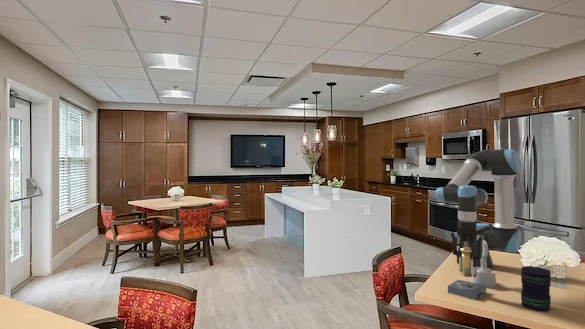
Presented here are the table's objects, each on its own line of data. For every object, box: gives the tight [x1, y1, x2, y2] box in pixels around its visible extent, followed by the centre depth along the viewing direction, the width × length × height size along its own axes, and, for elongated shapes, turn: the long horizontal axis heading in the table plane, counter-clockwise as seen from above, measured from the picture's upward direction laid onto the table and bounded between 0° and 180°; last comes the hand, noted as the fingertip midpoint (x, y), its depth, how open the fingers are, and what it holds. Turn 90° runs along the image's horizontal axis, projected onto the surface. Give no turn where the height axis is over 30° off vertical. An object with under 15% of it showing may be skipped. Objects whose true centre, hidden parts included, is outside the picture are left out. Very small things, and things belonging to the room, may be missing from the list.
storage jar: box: [520, 265, 552, 313], centre depth 143 cm, size 10×10×15 cm
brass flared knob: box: [460, 246, 473, 278], centre depth 158 cm, size 6×6×12 cm
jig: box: [447, 279, 487, 301], centre depth 159 cm, size 12×12×3 cm
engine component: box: [471, 241, 497, 289], centre depth 170 cm, size 11×20×10 cm
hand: (466, 272), depth 159 cm, fingers closed on brass flared knob, 4 cm apart
